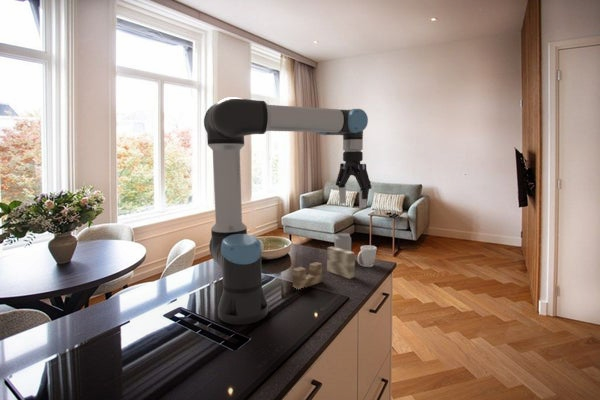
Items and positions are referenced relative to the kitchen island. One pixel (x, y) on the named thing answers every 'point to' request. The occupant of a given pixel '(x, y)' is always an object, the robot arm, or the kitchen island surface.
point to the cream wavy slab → (340, 262)
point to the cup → (367, 255)
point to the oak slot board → (307, 276)
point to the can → (343, 241)
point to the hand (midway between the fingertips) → (352, 205)
